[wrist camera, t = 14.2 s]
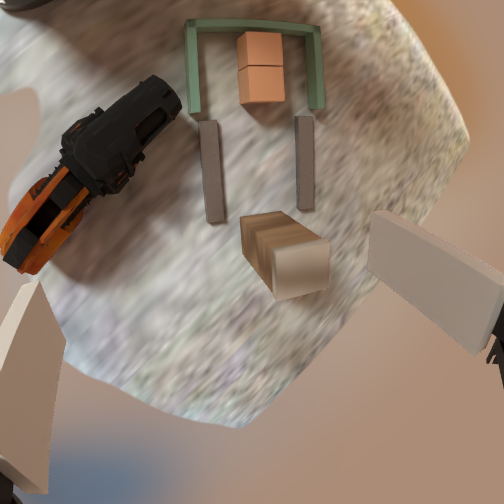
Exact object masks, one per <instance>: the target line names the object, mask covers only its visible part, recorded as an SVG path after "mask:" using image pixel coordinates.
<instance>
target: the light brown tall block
mask: <svg viewBox="0 0 504 504" xmlns="http://www.w3.org/2000/svg"><path fill="white" fill-rule="evenodd" d="M240 227H241V240H242V254H243V255H244V256H245V258H246V259H247V260H248V262H249V263H250V264H251V265H252V267H253V268H254V269H255V271H256V272H257V273H258V275H259V276H260V277H261V279H262V280H263V281H264V282H265V284H266V285H267V286H268V288H269V289H270V290H271V292H272V293H273V296H274V298H275V299H276V300H277V301H281V300H285V299H289V298H293V297H297V296H301V295H305V294H309V293H313V292H317V291H321V290H325V289H328V279H329V261H330V242H329V241H327V240H326V239H325V238H323V239H322V238H321V237H319V236H318V235H316V234H315V233H313V232H312V231H310V230H309V229H307V228H306V227H304V226H303V225H301V224H300V223H298V222H297V221H295V220H294V219H292V218H291V217H289V216H288V215H286V214H285V213H283V212H282V211H277V212H270V213H263V214H256V215H250V216H243V217H240Z"/></svg>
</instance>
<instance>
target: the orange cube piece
mask: <svg viewBox="0 0 504 504" xmlns="http://www.w3.org/2000/svg"><path fill="white" fill-rule="evenodd" d="M236 42H237V58H238V70H242V69H244V68H246V67H248V66H267V67H281V66H283V52H282V37H281V33H270V32H247V31H246V32H245V33H244V34H243V35H242V36H240V37H239V38H238V39H237V40H236Z"/></svg>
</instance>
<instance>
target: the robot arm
mask: <svg viewBox="0 0 504 504" xmlns="http://www.w3.org/2000/svg"><path fill="white" fill-rule="evenodd" d="M50 1H52V0H0V7H1V8H3V9H6V10H10V11H23V10H29V9H33V8H36V7H39V6H41V5H44V4H46V3H48V2H50ZM367 270H368V271H369V272H371V273H372V274H373V275H375V276H376V277H377V278H378V279H380V280H381V281H382V282H384V283H385V284H386V285H388V286H389V287H390V288H391V289H393V290H394V291H395V292H397V293H398V294H399V295H400V296H401V297H403V298H404V299H405V300H406V301H408V302H409V303H410V304H412V305H413V306H414V307H415V308H416V309H418V310H419V311H420V312H421V313H423V314H424V315H425V316H426V317H427V318H429V319H430V320H431V321H432V322H434V323H435V324H436V325H437V326H438V327H440V328H441V329H442V330H443V331H444V332H446V333H447V334H448V335H449V336H450V337H452V338H453V339H454V340H455V341H456V342H457V343H459V344H460V345H461V346H462V347H463V348H464V349H466V350H467V351H468V352H469V353H470V354H471V355H472V356H475V355H477V354H478V353H479V352H481V351H482V350H483V349H485V348H486V346H487V344H488V341H489V339H490V337H491V334H494V335H495V336H496V337H497V338H496V340H495V342H494V344H493V346H492V349H491V351H490V353H489V355H488V357H487V359H486V361H487V364H489V362H490V360H491V358H492V356H493V355H496V356H495V358H494V360H493V364H498V365H499V369H500V373H501V378H502V382H503V387H504V274H503V273H501V272H499V271H498V270H496V269H495V268H493V267H492V266H490V265H488V264H486V263H485V262H483V261H481V260H480V259H478V258H476V257H475V256H473V255H471V254H469V253H467V252H466V251H464V250H462V249H460V248H459V247H457V246H455V245H453V244H452V243H450V242H448V241H446V240H444V239H442V238H441V237H439V236H437V235H435V234H433V233H431V232H429V231H427V230H425V229H424V228H422V227H420V226H418V225H416V224H414V223H412V222H410V221H408V220H406V219H404V218H402V217H400V216H398V215H396V214H394V213H392V212H390V211H388V210H386V209H384V210H379V211H373V212H372V215H371V230H370V242H369V253H368V263H367ZM65 345H66V339H65V337H64V335H63V333H62V331H61V329H60V327H59V325H58V323H57V320H56V318H55V316H54V314H53V312H52V309H51V307H50V305H49V302H48V300H47V298H46V295H45V293H44V290H43V288H42V285H41V283H40V281H35V282H31V283H27V284H23V285H22V287H21V289H20V291H19V292H18V294H17V296H16V298H15V300H14V302H13V303H12V305H11V307H10V309H9V311H8V313H7V315H6V317H5V319H4V321H3V323H2V325H1V327H0V504H23V503H22V502H21V501H20V499H19V498H18V497H17V496H16V495H15V494H14V493H13V484H15V485H16V486H17V487H19V488H20V489H21V490H23V491H24V492H25V493H31V494H48V473H49V454H50V441H51V431H52V422H53V414H54V406H55V399H56V393H57V386H58V381H59V375H60V369H61V364H62V359H63V354H64V349H65Z"/></svg>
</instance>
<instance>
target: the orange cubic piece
mask: <svg viewBox="0 0 504 504" xmlns="http://www.w3.org/2000/svg"><path fill="white" fill-rule="evenodd" d="M238 83H239V99H240V104H251V103H275V102H281V101H285V92H284V75H283V67H267V66H248V67H246V68H244V69H242V70H240V71H239V72H238Z"/></svg>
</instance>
